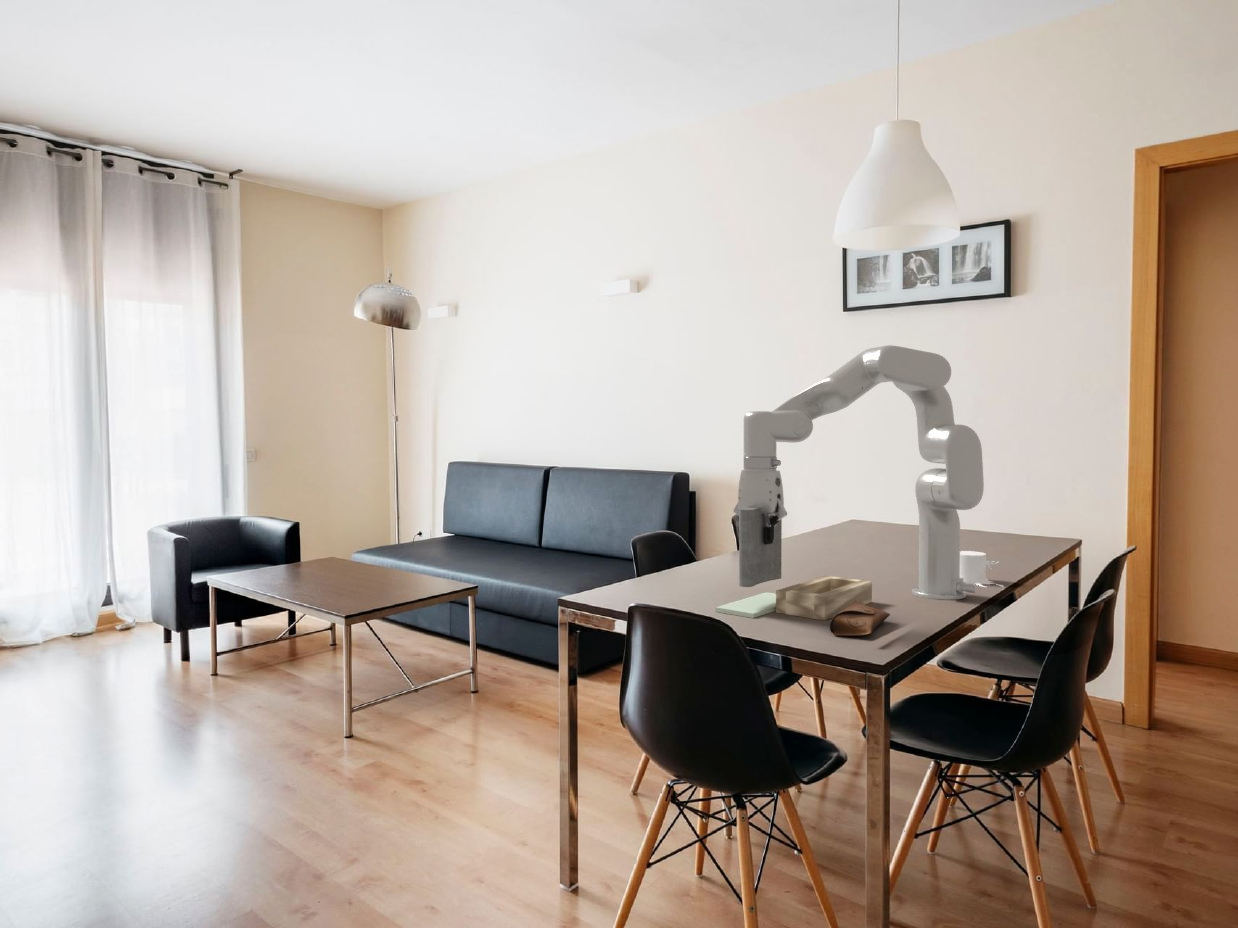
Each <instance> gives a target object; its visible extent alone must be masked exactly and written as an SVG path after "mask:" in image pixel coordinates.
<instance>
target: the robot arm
mask: <svg viewBox="0 0 1238 928" xmlns="http://www.w3.org/2000/svg"><path fill="white" fill-rule="evenodd" d="M951 377H952V367H951V364H950V363H949V361H948V360H947V359H946V358H945V356H942V355H940V354H938V353H935V352H929V351H925V350H921V349H920V350H919V349H914V348H909V347H906V346H905V347H903V346H897V345H891V344H890V345H889V344H888V345H882V346H877V347H871V348H867V349H865V350H863V351H861V352H860V353H858V354H857V355H856V356H854V357H853V358H852V359H850V360H849V361H847V362H846V363H845V364H843V365H842V366H841V367H839V368H837V370H835V371H834V372H832V373H831V374H829V375H827V376H826V377H825V378H824V379H822V380H820V381H818V382H816V383H814V384H813V385H810V386H809V387H808V388H806V389H804V390H803V391H801V392H799V393H797V394H795V395H793V397H790V398H789V399H787V400H786V401H785V402H783V403H782V404H780V405H779V406H778V407H777V408H775V409H773V410H772V411H768V410H767V411H766V410H758V411H748V412H746V413H744V417H743V469H742V470H741V472H740V475H739V481H738V490H737V491H738V493H737V503H736V504H735V506H734V508H733V513H734V514H735V515H737V516H738V517H739V509H741V508H746V507H752V508H760V513H761V514H764V517H765V524H766V527H764V529H763V543H764V544H766V545H767V544H772V543H773V540H774V526H776V524H777V523H778V522H779V521H780V519H784V518H785V517H787V515H788V512H787V510H786V508H785V506H784V505H785V504H784V503H785V501H784V500H785V499H784V488H783V487H784V486H783V480H782V476H781V471H780V470H777V469H778V466H779V467H780V466H781V464H782V461H781V460H780V459H778V458H777V443H788V444H789V443H801V442H804V441H805V440H806V439H808V438H810V436H811V434H812V433H813V430H814V423H813V420H815V419H818V418H819V417H820V418H821V417H822V416H825V415H829V414H834V413H836V412H839V411H841V410H844V409H846V408H848V407H850V405H852V403H854V402H856V401H857V400H858V399H860V398H861V397H862V396H864V395H865V394H866V393H868V392H869V391H870V390H872V389H873V388H875V387H876V386H877V385H879V384H882V383H887V382H890V383H891V382H892V383H893V385H894V386H895V388H897V389H899V390H900V391H902V392H903V393H905V394H906V395H907V396H908V398H909V399H910V400H911V402H912V403H913V405H914V409H915V415H916V416H915V417H916V424H917V425H916V427H917V442H918V450H919V455H920V456H921V458H922V459H923V460H924V461H926V462H929V463H932V464H941V465H942V464H944V465H945V468H941V467H940V468H937V467H936V468H931V469H927V470H924V471H923V472H922V473H921V474H920V475H919V476H918V478H917V479H916V483H915V488H914V489H915V490H914V491H915V497H916V503H917V509H918V527H919V528H918V586H915V587H913V588H912V589H911V593H912V595H913V596H916V597H919V598H924V599H928V600H929V599H931V600H940V601H941V600H943V601H944V600H947V601H948V600H949V601H954V600H957V601H958V600H962V599H965V598H966V597H967V593H973V594H976V593H977V591H978V585H975V584H965V582H964V578H960V551H961V521H960V517H959V513H958V511H959V510H960V511H969V510H972V509H973V508H975V507H976V506H978V505H979V504H980V502H982V498H983V496H984V489H985V487H984V486H985V485H984V465H983V464H984V463H983V450H982V443H981V440H980V437H979V435H978V434H977V432H976V431H975V430H974V429H973V428H971V427H970V426H967V425H965V424H955V418H954V417H955V415H954V409H953V408H954V407H953V401H952V399H951V396H950V394H949V392H948V390H947V389H946V387H945V386H946V385H947V384H948V383H949V382H950V379H951ZM775 513H778V514H777V515H775Z"/></svg>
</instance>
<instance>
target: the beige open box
mask: <svg viewBox="0 0 1238 928" xmlns="http://www.w3.org/2000/svg"><path fill="white" fill-rule="evenodd" d="M775 594H776V611H775V613H778V614H784V615H790V616H797V617H802V618H809V619H816V620H821V621H827V620H829V619H833V617H834V616H835V615H836V614H838V613H840V612H841V611H843V610H844V609H845V608H847V607H848V606H850V605H852V604H853V603H854V602H855V601H856V600H858V601H860V602H862V603H864V604H865V605H868V604H870V603H872V602H873V600H872V599H873V581H872V580H864V579H856V578H850V577H849V578H848V577H839V576H833V575H832V576H831V575H824V576H821V577H816V578H813V579H810V580H807V581H802V582H800V583H799V582H798V583H797V584H793V585H789V586H786V587H783V588H780V589H777V590H775Z"/></svg>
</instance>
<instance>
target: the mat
mask: <svg viewBox="0 0 1238 928" xmlns="http://www.w3.org/2000/svg"><path fill="white" fill-rule="evenodd" d="M714 609H715V612H716V613H722V614H728V615H734V616H740V617H745V618H751V619H755V618H757V617H761V616H763V615H767V614H771V613H773V612H776V592H774V593H773V592H766V591H765V592H761V593H759V594H755V595H752V596H749V597H746V598H742V599H739V600H736V601H732V602H728V603H726V604H722V605H719V606H716V607H715V608H714Z"/></svg>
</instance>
